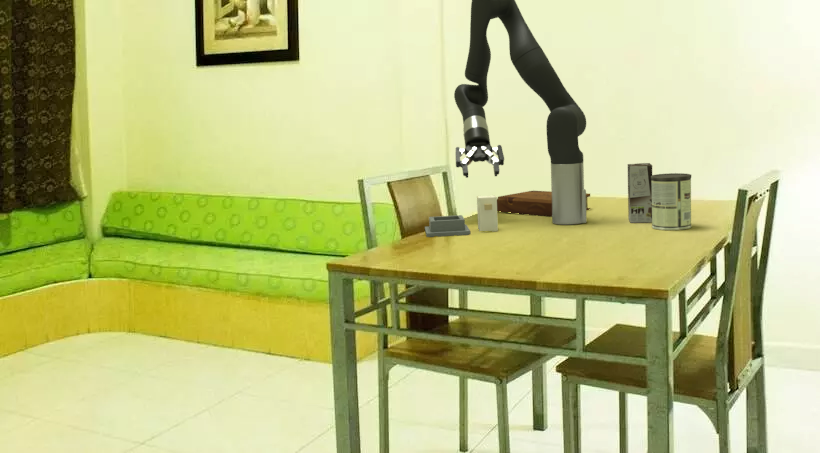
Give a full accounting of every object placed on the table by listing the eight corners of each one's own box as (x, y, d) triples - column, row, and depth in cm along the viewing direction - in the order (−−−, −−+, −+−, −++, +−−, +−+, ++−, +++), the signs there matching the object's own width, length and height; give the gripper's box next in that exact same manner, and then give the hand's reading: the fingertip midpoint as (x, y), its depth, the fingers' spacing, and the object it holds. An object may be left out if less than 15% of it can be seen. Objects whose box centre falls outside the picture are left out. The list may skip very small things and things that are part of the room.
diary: (497, 214, 276) (496, 196, 275) (533, 207, 288) (532, 190, 288) (555, 218, 259) (554, 199, 258) (590, 210, 272) (590, 192, 271)
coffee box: (653, 222, 239) (652, 165, 236) (629, 223, 240) (628, 165, 238) (650, 218, 248) (650, 162, 245) (627, 218, 249) (627, 163, 246)
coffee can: (654, 224, 236) (654, 173, 234) (693, 224, 231) (693, 173, 229) (648, 230, 227) (647, 177, 224) (688, 230, 222) (688, 176, 220)
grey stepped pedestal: (466, 227, 247) (465, 214, 246) (470, 234, 234) (470, 220, 233) (424, 230, 246) (424, 216, 246) (426, 237, 234) (426, 222, 233)
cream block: (495, 228, 243) (494, 195, 241) (498, 231, 237) (497, 197, 235) (478, 229, 243) (476, 196, 241) (480, 232, 237) (479, 198, 235)
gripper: (453, 127, 256) (457, 168, 246) (500, 124, 256) (506, 165, 246) (452, 143, 262) (457, 184, 252) (498, 141, 262) (505, 182, 252)
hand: (481, 175), depth 249 cm, fingers open, 8 cm apart
